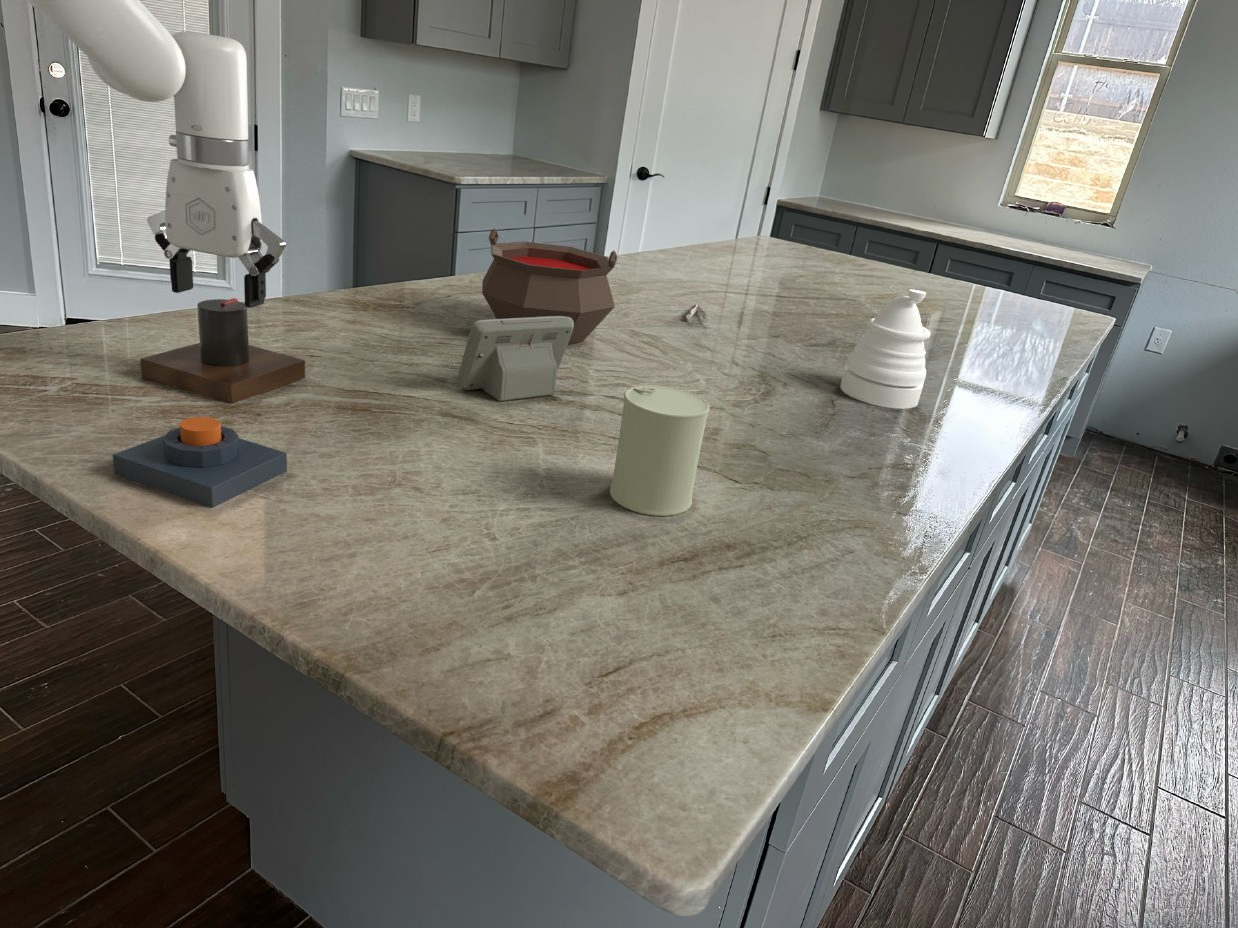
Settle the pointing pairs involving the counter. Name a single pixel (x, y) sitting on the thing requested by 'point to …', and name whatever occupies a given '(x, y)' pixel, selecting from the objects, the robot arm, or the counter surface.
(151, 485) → the alarm button base
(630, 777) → the counter surface
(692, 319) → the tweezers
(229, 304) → the dark grey cylinder
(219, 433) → the alarm button
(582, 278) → the brown cauldron
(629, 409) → the can
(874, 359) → the honey pot
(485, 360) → the digital clock
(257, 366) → the swivel stand
